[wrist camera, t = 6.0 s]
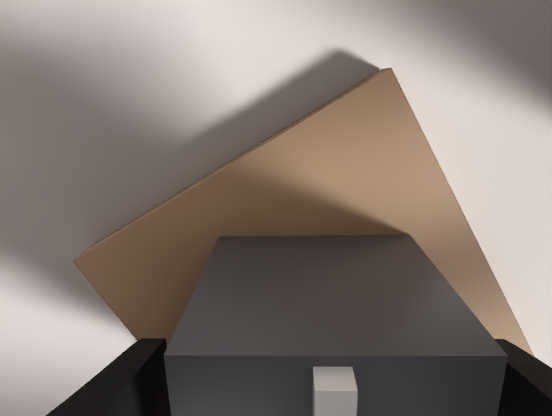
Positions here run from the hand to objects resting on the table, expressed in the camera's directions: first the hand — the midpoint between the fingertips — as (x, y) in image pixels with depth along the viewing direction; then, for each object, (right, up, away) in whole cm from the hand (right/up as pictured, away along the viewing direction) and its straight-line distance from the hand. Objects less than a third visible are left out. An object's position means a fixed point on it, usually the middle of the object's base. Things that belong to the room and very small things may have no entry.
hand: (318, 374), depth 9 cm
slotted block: (0, +1, +2) cm, 2 cm away
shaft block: (0, +1, +3) cm, 3 cm away
